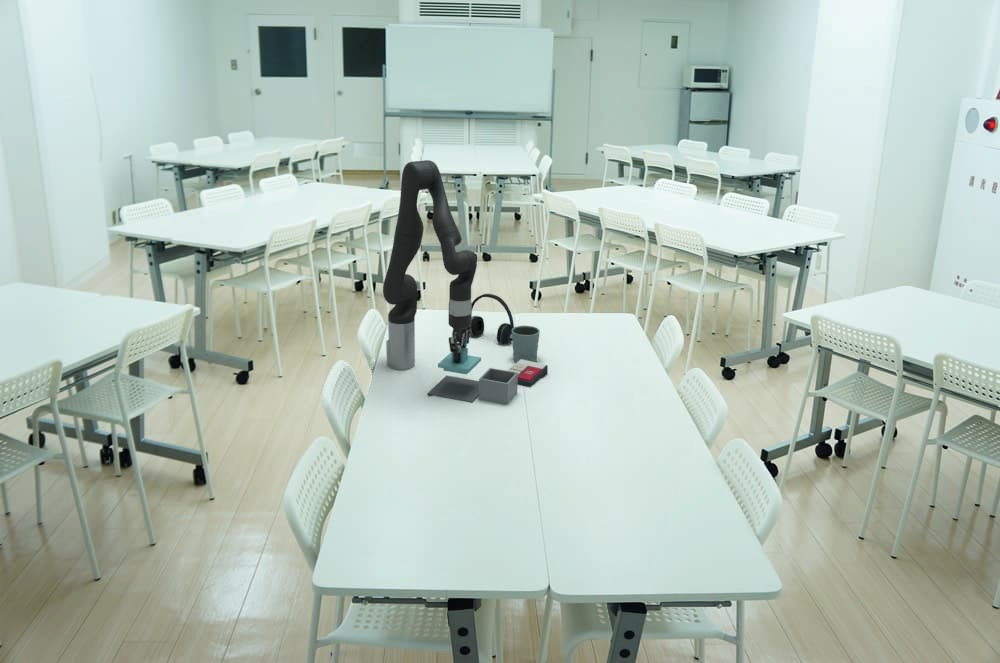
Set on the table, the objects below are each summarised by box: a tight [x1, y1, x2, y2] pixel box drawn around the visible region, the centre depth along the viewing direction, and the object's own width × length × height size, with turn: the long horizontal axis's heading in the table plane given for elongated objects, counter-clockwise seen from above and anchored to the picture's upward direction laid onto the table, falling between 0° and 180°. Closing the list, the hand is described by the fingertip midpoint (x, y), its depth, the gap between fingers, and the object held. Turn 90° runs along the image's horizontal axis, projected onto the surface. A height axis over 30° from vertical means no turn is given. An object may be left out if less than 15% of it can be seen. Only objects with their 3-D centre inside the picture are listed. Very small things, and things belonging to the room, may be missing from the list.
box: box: [478, 367, 519, 406], centre depth 279 cm, size 10×10×8 cm
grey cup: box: [511, 325, 541, 364], centre depth 309 cm, size 10×10×12 cm
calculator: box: [506, 359, 548, 388], centre depth 296 cm, size 11×4×15 cm
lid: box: [437, 347, 482, 375], centre depth 281 cm, size 11×11×7 cm
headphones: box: [470, 293, 515, 345], centre depth 327 cm, size 20×7×18 cm, turn 57°
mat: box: [426, 375, 479, 404], centre depth 285 cm, size 16×16×1 cm
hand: (459, 359), depth 281 cm, fingers closed on lid, 4 cm apart
